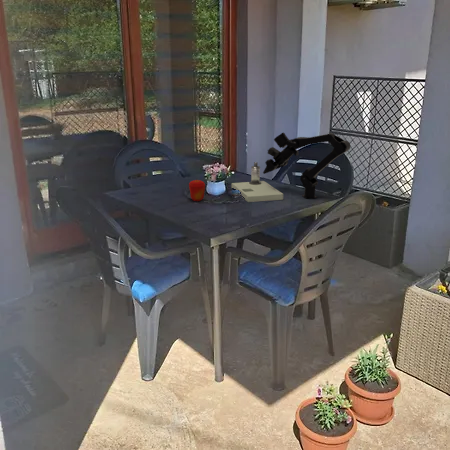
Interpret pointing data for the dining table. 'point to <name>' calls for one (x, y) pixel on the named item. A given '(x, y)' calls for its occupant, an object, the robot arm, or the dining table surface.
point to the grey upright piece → (255, 173)
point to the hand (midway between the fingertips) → (267, 171)
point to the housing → (257, 191)
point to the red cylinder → (197, 190)
